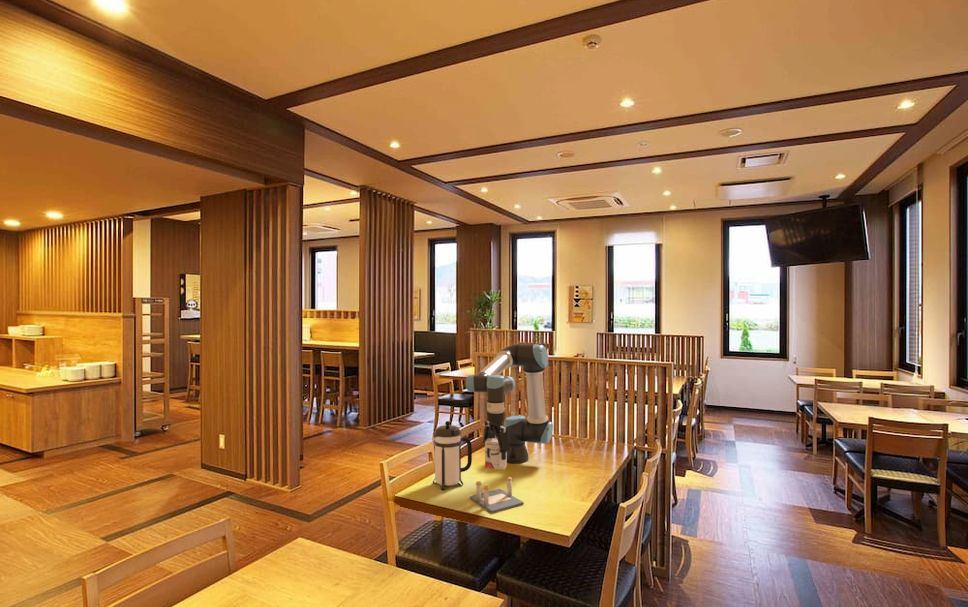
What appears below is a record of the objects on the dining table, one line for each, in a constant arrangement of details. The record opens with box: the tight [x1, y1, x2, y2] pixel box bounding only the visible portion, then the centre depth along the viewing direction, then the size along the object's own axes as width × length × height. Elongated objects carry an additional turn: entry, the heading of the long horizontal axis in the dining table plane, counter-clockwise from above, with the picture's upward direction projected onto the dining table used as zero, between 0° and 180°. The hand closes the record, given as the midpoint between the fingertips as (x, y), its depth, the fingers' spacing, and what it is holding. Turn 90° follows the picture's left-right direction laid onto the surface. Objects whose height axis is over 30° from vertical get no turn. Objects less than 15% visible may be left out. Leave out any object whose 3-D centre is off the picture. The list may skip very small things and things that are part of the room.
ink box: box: [484, 437, 507, 471], centre depth 210 cm, size 8×5×12 cm, turn 72°
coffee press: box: [431, 420, 473, 491], centre depth 231 cm, size 17×16×30 cm
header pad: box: [469, 476, 525, 514], centre depth 210 cm, size 18×16×9 cm
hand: (495, 463), depth 210 cm, fingers closed on ink box, 9 cm apart
